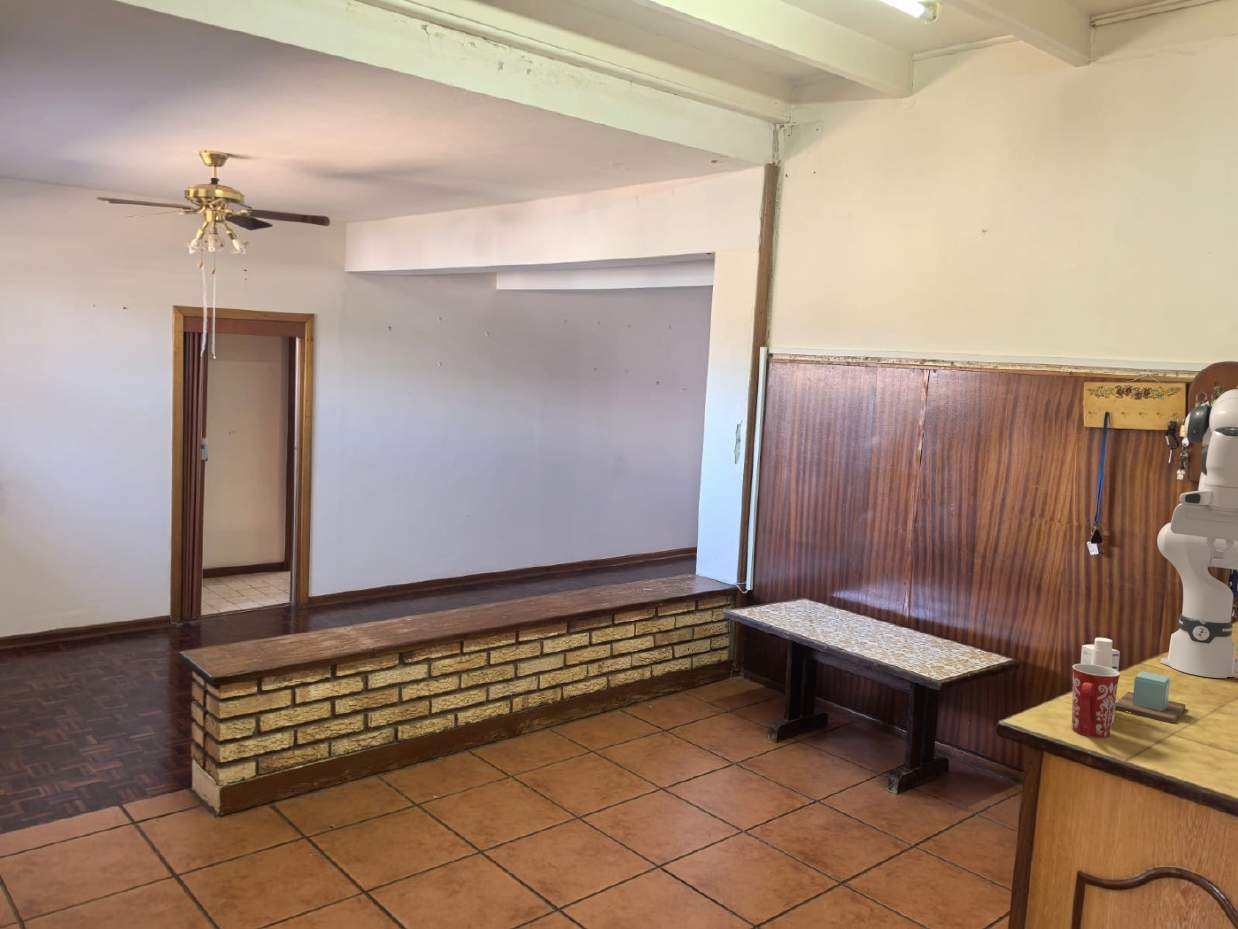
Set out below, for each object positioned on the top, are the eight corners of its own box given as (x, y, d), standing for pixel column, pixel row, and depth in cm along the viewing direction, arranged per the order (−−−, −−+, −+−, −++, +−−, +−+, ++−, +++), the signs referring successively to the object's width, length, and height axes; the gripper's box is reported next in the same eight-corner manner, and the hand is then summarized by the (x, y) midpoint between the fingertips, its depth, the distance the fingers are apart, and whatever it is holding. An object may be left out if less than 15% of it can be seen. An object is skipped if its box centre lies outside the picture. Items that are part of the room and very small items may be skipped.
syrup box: (1115, 714, 214) (1121, 650, 213) (1093, 715, 213) (1099, 651, 212) (1097, 705, 220) (1103, 643, 219) (1075, 706, 218) (1081, 644, 217)
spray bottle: (1117, 727, 206) (1125, 645, 204) (1083, 723, 207) (1091, 642, 206) (1108, 716, 213) (1115, 637, 211) (1075, 712, 214) (1082, 634, 212)
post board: (1127, 695, 228) (1130, 667, 228) (1185, 708, 221) (1188, 679, 220) (1113, 709, 218) (1116, 680, 217) (1173, 723, 210) (1176, 693, 210)
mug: (1073, 721, 209) (1079, 660, 207) (1119, 732, 203) (1125, 670, 201) (1055, 735, 199) (1061, 672, 198) (1102, 747, 193) (1108, 682, 192)
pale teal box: (1137, 698, 224) (1140, 670, 223) (1168, 705, 220) (1171, 677, 219) (1131, 704, 219) (1134, 676, 218) (1162, 711, 215) (1165, 683, 214)
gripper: (1281, 503, 213) (1274, 564, 215) (1177, 492, 226) (1171, 550, 228) (1278, 505, 209) (1271, 567, 210) (1172, 494, 222) (1166, 553, 223)
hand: (1218, 558), depth 219 cm, fingers closed
